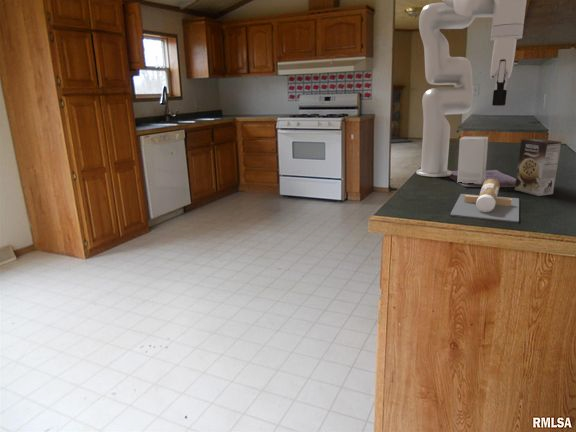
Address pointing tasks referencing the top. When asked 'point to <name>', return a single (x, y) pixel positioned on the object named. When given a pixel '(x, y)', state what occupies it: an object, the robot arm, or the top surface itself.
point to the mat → (502, 211)
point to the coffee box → (537, 166)
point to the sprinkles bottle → (488, 195)
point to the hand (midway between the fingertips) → (498, 105)
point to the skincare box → (472, 159)
